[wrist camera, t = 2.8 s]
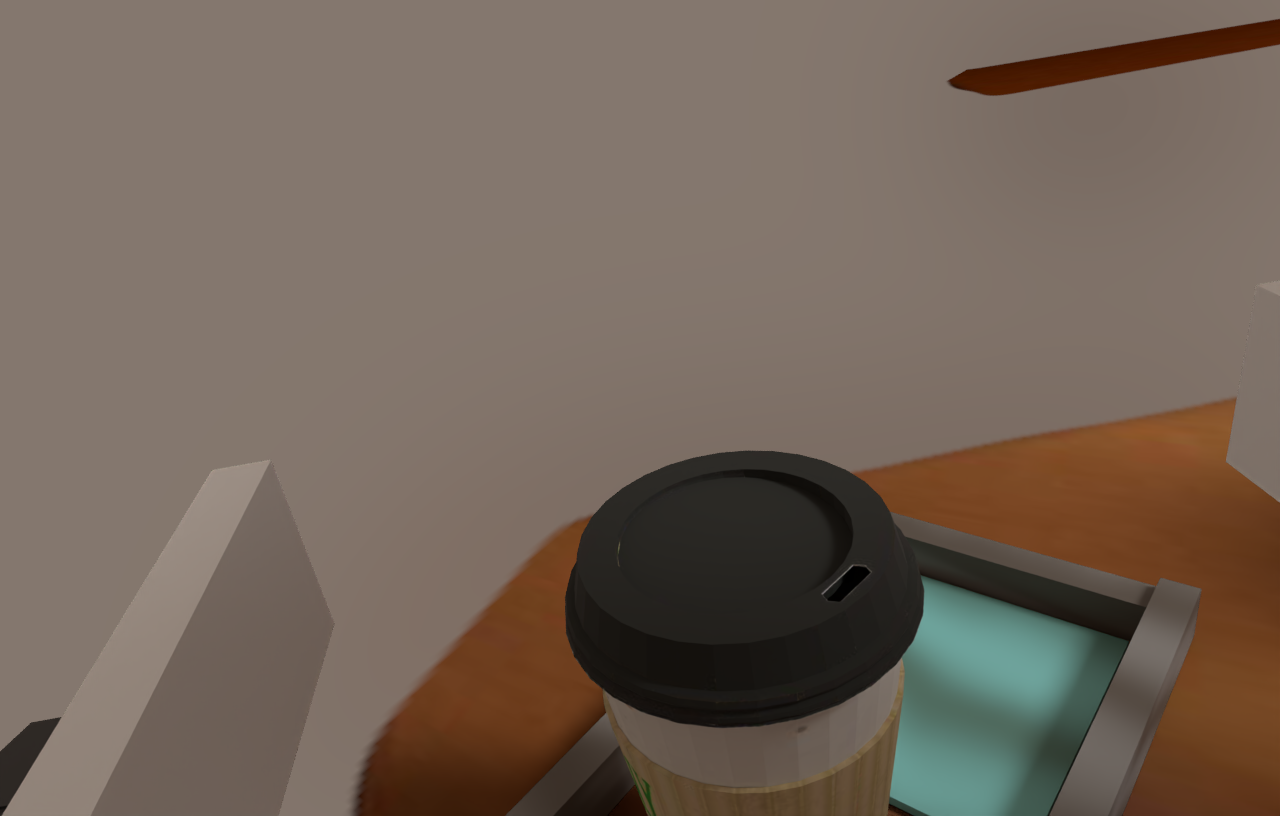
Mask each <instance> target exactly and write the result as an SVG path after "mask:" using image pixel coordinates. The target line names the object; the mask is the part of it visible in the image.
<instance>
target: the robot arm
mask: <svg viewBox="0 0 1280 816" xmlns="http://www.w3.org/2000/svg"><path fill="white" fill-rule="evenodd" d="M1226 462H1227V463H1228V464H1230V465H1231V466H1232V467H1234V468H1235V469H1236V470H1238V471H1239V472H1240V473H1242V474H1243V475H1244V476H1246V477H1247V478H1248V479H1250V480H1251V481H1252V482H1253V483H1255V484H1256V485H1257V486H1259V487H1260V488H1261V489H1263V490H1264V491H1265V492H1267V493H1268V494H1269V495H1271V496H1272V497H1273V498H1275V499H1276V500H1277V501H1279V502H1280V281H1275V282H1269V283H1263V284H1258V285H1257V286H1256V290H1255V296H1254V302H1253V308H1252V314H1251V319H1250V325H1249V331H1248V337H1247V343H1246V349H1245V354H1244V360H1243V367H1242V372H1241V378H1240V383H1239V389H1238V395H1237V401H1236V407H1235V413H1234V418H1233V424H1232V430H1231V436H1230V442H1229V447H1228V453H1227V459H1226ZM333 627H334V621H333V618H332V616H331V613H330V611H329V608H328V606H327V603H326V600H325V598H324V595H323V593H322V590H321V587H320V585H319V583H318V580H317V577H316V575H315V572H314V569H313V567H312V564H311V562H310V559H309V557H308V554H307V551H306V549H305V546H304V544H303V541H302V538H301V536H300V533H299V531H298V528H297V525H296V523H295V520H294V518H293V515H292V513H291V510H290V507H289V505H288V502H287V500H286V497H285V494H284V492H283V489H282V487H281V484H280V481H279V479H278V476H277V474H276V471H275V469H274V466H273V463H272V461H271V460H266V461H260V462H255V463H249V464H243V465H238V466H233V467H227V468H221V469H216V470H212V471H211V473H210V474H209V476H208V478H207V479H206V481H205V483H204V484H203V486H202V488H201V489H200V491H199V492H198V494H197V496H196V498H195V499H194V501H193V502H192V504H191V506H190V507H189V509H188V511H187V512H186V514H185V516H184V517H183V519H182V520H181V522H180V524H179V526H178V527H177V529H176V530H175V532H174V534H173V535H172V537H171V538H170V540H169V542H168V543H167V545H166V547H165V548H164V550H163V552H162V553H161V555H160V557H159V558H158V560H157V561H156V563H155V565H154V566H153V568H152V570H151V571H150V573H149V575H148V576H147V578H146V580H145V581H144V583H143V585H142V586H141V588H140V590H139V591H138V593H137V594H136V596H135V598H134V599H133V601H132V603H131V604H130V606H129V608H128V609H127V611H126V612H125V614H124V616H123V617H122V619H121V621H120V622H119V624H118V626H117V627H116V629H115V631H114V632H113V634H112V635H111V637H110V639H109V641H108V642H107V644H106V645H105V647H104V649H103V650H102V652H101V654H100V655H99V657H98V659H97V660H96V662H95V664H94V665H93V667H92V668H91V670H90V672H89V673H88V675H87V677H86V678H85V680H84V682H83V683H82V685H81V687H80V688H79V690H78V691H77V693H76V695H75V696H74V698H73V700H72V701H71V703H70V705H69V706H68V708H67V710H66V711H65V713H64V714H63V716H62V717H60V718H55V719H50V720H43V721H38V722H32V723H30V725H28V726H27V727H26V728H25V729H24V730H23V731H22V732H21V733H20V734H19V735H17V736H16V737H15V738H14V739H13V740H12V741H11V742H10V743H9V744H8V745H7V746H6V747H5V748H4V749H2V750H1V751H0V816H278V814H279V811H280V808H281V804H282V801H283V797H284V794H285V791H286V787H287V784H288V780H289V777H290V774H291V770H292V767H293V763H294V760H295V756H296V753H297V750H298V746H299V743H300V740H301V736H302V733H303V729H304V726H305V723H306V719H307V716H308V712H309V709H310V705H311V702H312V698H313V695H314V692H315V688H316V685H317V682H318V678H319V675H320V671H321V668H322V664H323V661H324V657H325V654H326V651H327V648H328V644H329V641H330V637H331V634H332V630H333Z"/></svg>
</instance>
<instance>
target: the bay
mask: <svg viewBox="0 0 1280 816" xmlns="http://www.w3.org/2000/svg"><path fill="white" fill-rule="evenodd" d="M890 513H891V516H892V518H893V521H894V523H895V524H896V525H897V526H898V527H899V528H900V529H901V531H902V533H903V534H904V536H905V538H906V539H907V541H908V543H909V544H910V546H911V548H912V549H913V551H914V553H915V556H916V560H917V564H918V567H919V571H920V574H921V579H922V582H923V586H924V590H925V591H924V612H923V617H922V620H921V623H920V626H919V628H918V631H917V634H916V637H915V639H914V641H913V643H912V644H911V645H910V647H909V648H908V649H907V651H906V652H905V654H904V655H903V656H902V661H903V665H904V670H905V677H904V691H903V700H902V708H901V715H900V723H899V730H898V738H897V745H896V753H895V760H894V768H893V775H892V783H891V790H890V797H889V804H891V805H893V806H895V807H898V808H900V809H902V810H904V811H906V812H908V813H910V814H912V815H914V816H1122V815H1123V812H1124V810H1125V807H1126V805H1127V802H1128V800H1129V797H1130V795H1131V792H1132V790H1133V787H1134V785H1135V782H1136V780H1137V777H1138V775H1139V772H1140V770H1141V767H1142V765H1143V762H1144V760H1145V757H1146V755H1147V752H1148V750H1149V747H1150V745H1151V742H1152V740H1153V737H1154V735H1155V732H1156V730H1157V727H1158V725H1159V722H1160V720H1161V717H1162V714H1163V712H1164V709H1165V707H1166V704H1167V702H1168V699H1169V697H1170V694H1171V692H1172V689H1173V687H1174V684H1175V682H1176V679H1177V677H1178V674H1179V672H1180V669H1181V667H1182V664H1183V662H1184V659H1185V657H1186V654H1187V652H1188V649H1189V647H1190V644H1191V642H1192V639H1193V637H1194V632H1195V626H1196V620H1197V614H1198V608H1199V602H1200V595H1201V589H1200V588H1196V587H1192V586H1189V585H1185V584H1181V583H1178V582H1174V581H1171V580H1167V579H1163V578H1160V580H1159V582H1158V584H1157V586H1153V585H1150V584H1146V583H1142V582H1139V581H1135V580H1132V579H1128V578H1125V577H1121V576H1117V575H1114V574H1110V573H1107V572H1103V571H1100V570H1096V569H1092V568H1089V567H1085V566H1082V565H1078V564H1075V563H1071V562H1067V561H1064V560H1060V559H1057V558H1053V557H1050V556H1046V555H1042V554H1039V553H1035V552H1032V551H1028V550H1024V549H1021V548H1017V547H1014V546H1010V545H1007V544H1003V543H999V542H996V541H992V540H989V539H985V538H982V537H978V536H974V535H971V534H967V533H964V532H960V531H957V530H953V529H949V528H946V527H942V526H939V525H935V524H932V523H928V522H924V521H921V520H917V519H914V518H910V517H906V516H903V515H899V514H896V513H892V512H890ZM922 575H924V576H922ZM925 576H928V577H931V578H934V579H931V578H928V577H925ZM935 579H937V580H935ZM938 580H940V581H938ZM941 581H943V582H941ZM944 582H946V583H944ZM947 583H950V584H953V585H956V586H953V585H950V584H947ZM957 586H959V587H957ZM960 587H962V588H960ZM963 588H965V589H963ZM966 589H969V590H972V591H975V592H978V593H975V592H972V591H969V590H966ZM979 593H981V594H979ZM982 594H984V595H982ZM985 595H987V596H985ZM988 596H991V597H994V598H997V599H994V598H991V597H988ZM998 599H1000V600H998ZM1001 600H1003V601H1001ZM1004 601H1006V602H1004ZM1007 602H1010V603H1013V604H1016V605H1019V606H1016V605H1013V604H1010V603H1007ZM1020 606H1022V607H1020ZM1023 607H1025V608H1023ZM1026 608H1028V609H1026ZM1029 609H1032V610H1035V611H1038V612H1041V613H1038V612H1035V611H1032V610H1029ZM1042 613H1044V614H1042ZM1045 614H1047V615H1045ZM1048 615H1051V616H1054V617H1057V618H1060V619H1063V620H1060V619H1057V618H1054V617H1051V616H1048ZM1064 620H1066V621H1064ZM1067 621H1069V622H1067ZM1070 622H1073V623H1076V624H1079V625H1082V626H1079V625H1076V624H1073V623H1070ZM1083 626H1085V627H1083ZM1086 627H1088V628H1086ZM1089 628H1092V629H1095V630H1098V631H1101V632H1104V633H1101V632H1098V631H1095V630H1092V629H1089ZM1105 633H1107V634H1105ZM1108 634H1110V635H1108ZM1111 635H1114V636H1117V637H1120V638H1123V639H1126V640H1123V639H1120V638H1117V637H1114V636H1111ZM1127 640H1129V641H1131V642H1130V644H1129V641H1127ZM1128 644H1129V646H1128ZM634 785H635V783H634V780H633V778H632V775H631V773H630V770H629V768H628V765H627V763H626V760H625V758H624V756H623V753H622V751H621V748H620V746H619V743H618V741H617V738H616V736H615V733H614V731H613V729H612V726H611V723H610V721H609V718H608V715H607V713H606V714H605V715H604V716H603V717H602V718H601V719H600V720H599V721H598V722H597V723H596V724H595V725H594V726H593V727H592V728H591V729H590V730H589V731H588V732H587V733H586V734H585V735H584V736H583V737H582V738H581V739H580V740H579V741H578V742H577V743H576V744H575V745H574V746H573V747H572V748H571V749H570V750H569V751H568V752H567V753H566V754H565V755H564V756H563V757H562V758H561V759H560V760H559V761H558V762H557V763H556V765H555V766H554V767H553V768H552V769H551V770H550V771H549V772H548V773H547V774H546V775H545V776H544V777H543V778H542V779H541V780H540V781H539V782H538V783H537V784H536V785H535V786H534V787H533V788H532V789H531V790H530V791H529V792H528V793H527V794H526V795H525V796H524V797H523V798H522V799H521V800H520V801H519V802H518V803H517V804H516V805H515V806H514V807H513V808H512V809H511V810H510V811H509V812H508V813H507V815H506V816H607V815H608V814H609V813H610V812H611V811H612V809H613V808H614V807H615V806H616V805H617V804H618V803H619V802H620V800H621V799H622V798H623V797H624V796H625V795H626V794H627V793H628V791H629V790H630V789H631V788H632V787H633V786H634Z"/></svg>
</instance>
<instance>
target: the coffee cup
mask: <svg viewBox="0 0 1280 816" xmlns="http://www.w3.org/2000/svg"><path fill="white" fill-rule="evenodd" d="M924 591H925V590H924V586H923V582H922V579H921V575H920V571H919V567H918V564H917V560H916V556H915V553H914V551H913V549H912V548H911V546H910V544H909V543H908V541H907V539H906V538H905V536H904V534H903V533H902V531H901V529H900V528H899V527H898V526H897V525H896V524H895V523H894V521H893V518H892V516H891V513H890V511H889V510H888V508H887V506H886V505H885V503H884V502H883V500H882V498H881V497H880V496H879V495H878V494H877V493H876V492H875V491H874V490H873V489H872V488H871V487H870V486H869V485H868V484H867V483H866V482H864V481H863V480H861V479H860V478H858V477H856V476H855V475H853V474H852V473H850V472H848V471H847V470H845V469H842V468H840V467H837V466H835V465H832V464H830V463H828V462H825V461H822V460H818V459H814V458H810V457H807V456H803V455H798V454H790V453H783V452H775V451H738V452H725V453H717V454H712V455H706V456H701V457H696V458H692V459H688V460H684V461H682V462H678V463H674V464H671V465H668V466H666V467H663V468H661V469H658V470H656V471H654V472H651V473H649V474H647V475H644V476H643V477H641V478H639V479H637V480H636V481H634V482H632V483H631V484H629V485H627V486H626V487H624V488H622V489H621V490H620V491H619V492H617V493H616V494H615V495H614V496H612V497H611V498H610V499H609V500H607V501H606V502H605V503H604V504H603V505H602V506H601V508H600V509H599V510H598V511H597V512H596V513H595V514H594V515H593V517H592V518H591V519H590V521H589V523H588V525H587V527H586V528H585V530H584V532H583V534H582V536H581V540H580V544H579V548H578V552H577V562H576V563H575V565H574V567H573V569H572V571H571V575H570V579H569V583H568V587H567V591H566V596H565V603H566V605H565V615H566V635H567V637H568V640H569V643H570V646H571V649H572V652H573V654H574V657H575V658H576V660H577V661H578V663H579V664H580V665H581V667H582V668H583V669H584V671H585V672H586V674H587V675H588V676H589V678H590V679H591V680H592V681H594V682H595V683H596V684H597V685H599V686H600V687H601V688H602V689H603V698H604V707H605V710H606V713H607V715H608V718H609V721H610V723H611V726H612V729H613V731H614V733H615V736H616V738H617V741H618V743H619V746H620V748H621V751H622V753H623V756H624V758H625V760H626V763H627V765H628V768H629V770H630V773H631V775H632V778H633V780H634V783H635V785H636V787H637V790H638V792H639V795H640V797H641V800H642V802H643V805H644V807H645V810H646V812H647V814H648V816H887V812H888V805H889V797H890V790H891V783H892V775H893V768H894V760H895V753H896V745H897V738H898V730H899V723H900V715H901V708H902V700H903V691H904V677H905V670H904V665H903V661H902V656H903V655H904V654H905V652H906V651H907V649H908V648H909V647H910V645H911V644H912V643H913V641H914V639H915V637H916V634H917V631H918V628H919V626H920V623H921V620H922V617H923V612H924Z"/></svg>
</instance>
